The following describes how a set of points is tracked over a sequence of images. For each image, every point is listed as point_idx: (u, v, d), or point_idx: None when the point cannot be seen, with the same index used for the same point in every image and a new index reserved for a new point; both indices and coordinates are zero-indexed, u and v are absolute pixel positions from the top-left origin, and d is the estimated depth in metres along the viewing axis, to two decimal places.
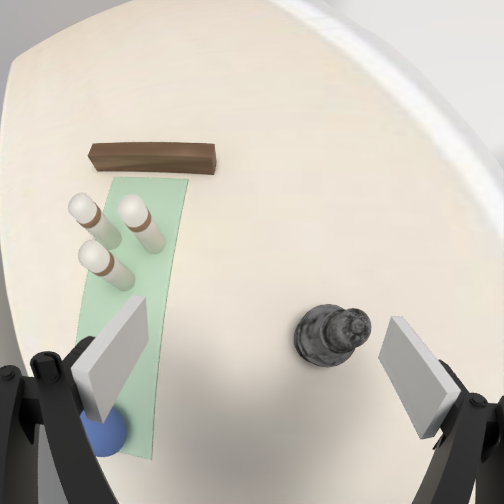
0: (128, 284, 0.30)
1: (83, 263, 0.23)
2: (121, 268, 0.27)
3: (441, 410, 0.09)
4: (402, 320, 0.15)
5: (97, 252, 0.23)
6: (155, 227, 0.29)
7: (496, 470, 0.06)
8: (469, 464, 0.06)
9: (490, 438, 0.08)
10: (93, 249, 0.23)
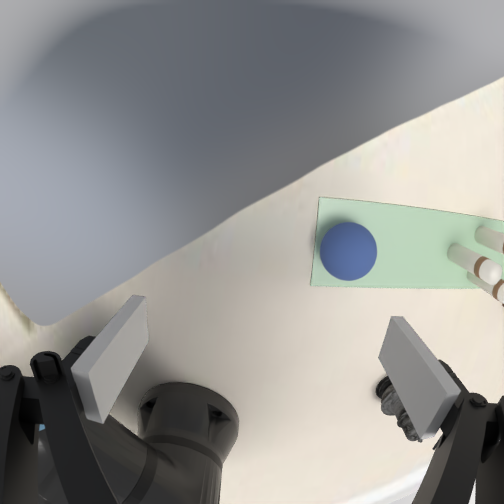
0: (454, 262, 0.32)
1: (490, 270, 0.25)
2: None
3: (441, 410, 0.09)
4: (402, 320, 0.15)
5: (494, 281, 0.25)
6: None
7: (496, 470, 0.06)
8: (469, 464, 0.06)
9: (490, 438, 0.08)
10: (496, 277, 0.25)
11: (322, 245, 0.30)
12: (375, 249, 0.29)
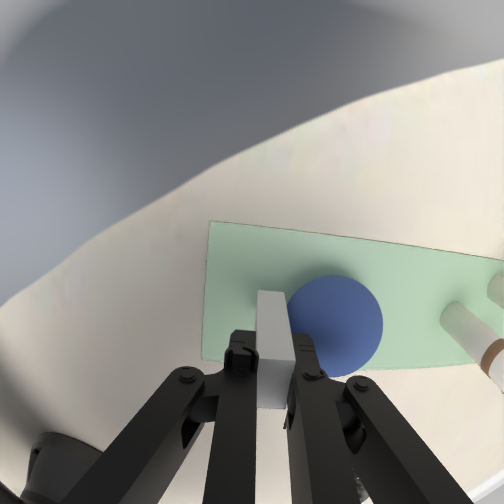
0: None
1: None
2: None
3: (278, 378, 0.11)
4: (280, 295, 0.17)
5: None
6: None
7: (377, 463, 0.07)
8: (334, 445, 0.07)
9: (351, 425, 0.10)
10: None
11: (338, 342, 0.14)
12: None
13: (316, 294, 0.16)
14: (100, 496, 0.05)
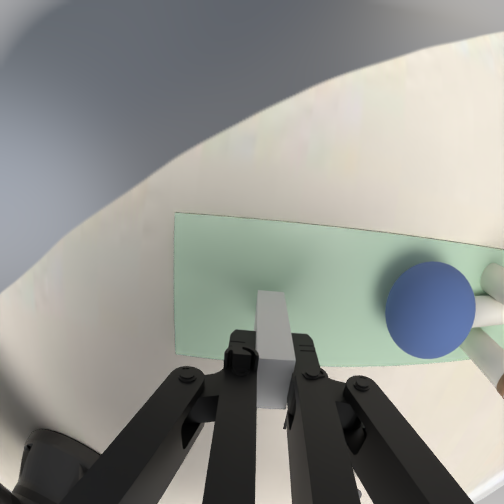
0: (477, 326, 0.18)
1: None
2: None
3: (278, 378, 0.11)
4: (280, 295, 0.17)
5: None
6: None
7: (378, 463, 0.07)
8: (334, 445, 0.07)
9: (351, 425, 0.10)
10: None
11: None
12: (396, 300, 0.16)
13: None
14: (100, 496, 0.05)
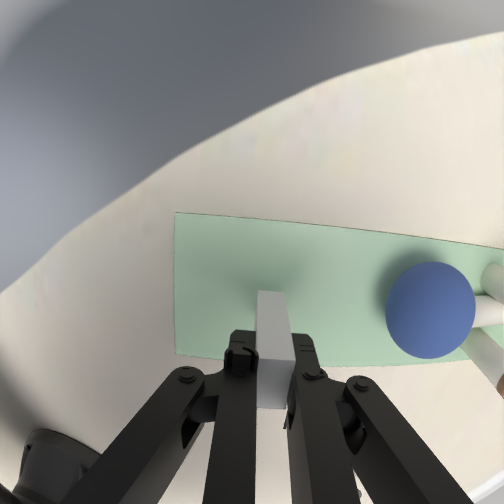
0: (477, 326, 0.18)
1: None
2: None
3: (278, 378, 0.11)
4: (280, 295, 0.17)
5: None
6: None
7: (378, 463, 0.07)
8: (334, 445, 0.07)
9: (351, 425, 0.10)
10: None
11: None
12: (396, 300, 0.16)
13: None
14: (100, 496, 0.05)
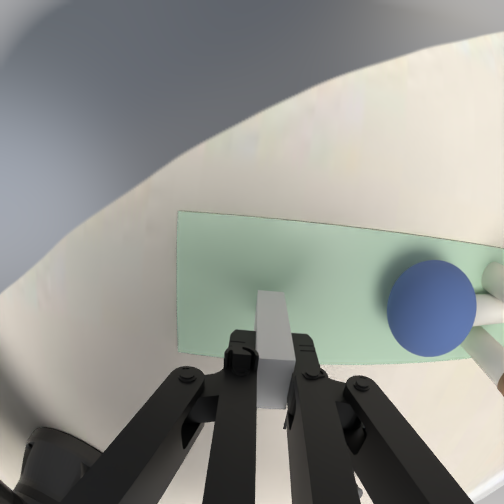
0: (478, 325, 0.18)
1: None
2: None
3: (278, 378, 0.11)
4: (280, 295, 0.17)
5: None
6: None
7: (378, 463, 0.07)
8: (334, 445, 0.07)
9: (351, 425, 0.10)
10: None
11: None
12: (397, 298, 0.16)
13: None
14: (100, 496, 0.05)
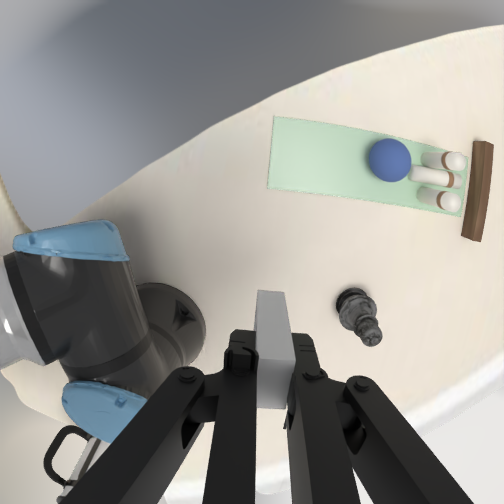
0: (422, 180, 0.38)
1: None
2: (434, 184, 0.39)
3: (278, 378, 0.11)
4: (280, 295, 0.17)
5: None
6: (436, 206, 0.37)
7: (378, 463, 0.07)
8: (334, 445, 0.07)
9: (351, 425, 0.10)
10: None
11: None
12: (371, 151, 0.37)
13: None
14: (100, 496, 0.05)
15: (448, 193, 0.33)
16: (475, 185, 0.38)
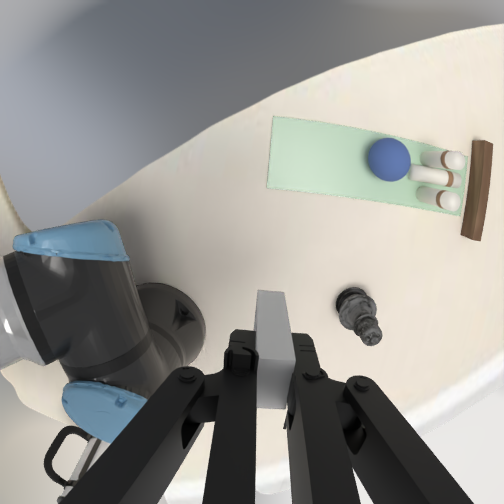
0: (421, 179, 0.38)
1: (460, 177, 0.38)
2: None
3: (278, 378, 0.11)
4: (280, 295, 0.17)
5: None
6: (435, 205, 0.37)
7: (378, 463, 0.07)
8: (334, 445, 0.07)
9: (351, 425, 0.10)
10: None
11: None
12: (371, 150, 0.37)
13: None
14: (100, 496, 0.05)
15: (447, 192, 0.33)
16: (474, 184, 0.38)
